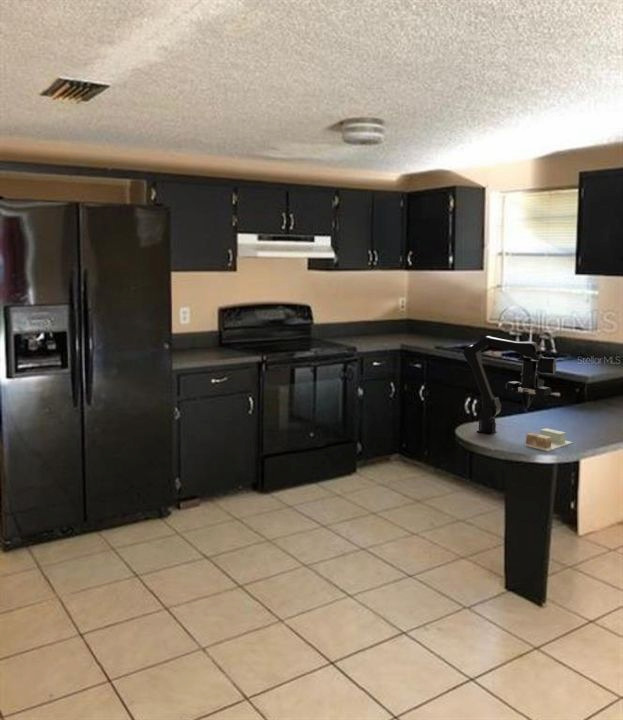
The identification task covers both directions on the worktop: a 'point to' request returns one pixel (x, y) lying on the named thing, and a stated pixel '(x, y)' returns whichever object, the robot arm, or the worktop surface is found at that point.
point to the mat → (553, 446)
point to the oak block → (538, 440)
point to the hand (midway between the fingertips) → (526, 408)
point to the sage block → (554, 435)
